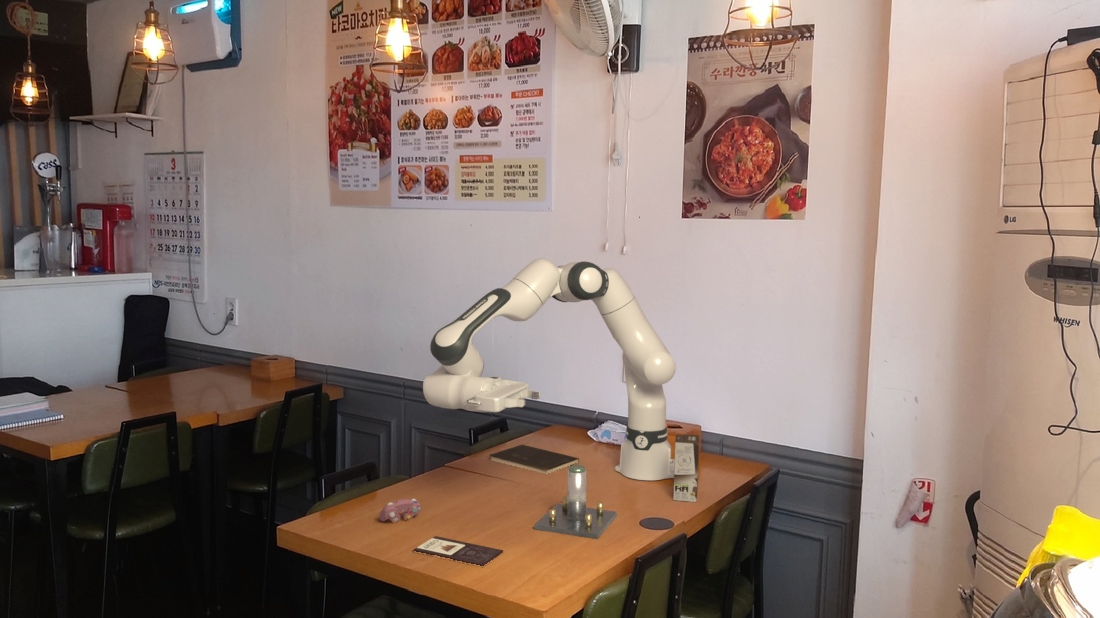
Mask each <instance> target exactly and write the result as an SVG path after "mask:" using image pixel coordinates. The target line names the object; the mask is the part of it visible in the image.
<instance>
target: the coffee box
mask: <svg viewBox="0 0 1100 618" xmlns="http://www.w3.org/2000/svg"><path fill="white" fill-rule="evenodd" d="M674 439H675V440H674V478H673V499H672V500H673V501H680V502H691V503H697V499H698V489H699V469H700V468H699V465H700V463H699V461H700V459H699V458H700V435H698V434H675V438H674Z"/></svg>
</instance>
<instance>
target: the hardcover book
mask: <svg viewBox="0 0 1100 618" xmlns="http://www.w3.org/2000/svg"><path fill="white" fill-rule="evenodd" d="M488 457H490V461H492V462H497V463H500V464H504V463H505V464H504V465H508V466H511V465H512V467H515V466H517V467H516V468H519V467H521V468H520V469H523V468H525V469H524V470H527V469H528V470H527V471H530V470H533V471H532V472H534V471H537V472H536V473H538V472H540V473H539V474H542V473H545V474H544V475H546V474H547V475H549V474H548V473H550V474H552V473H551V472H553V473H555V472H557V471H556V470H558V471H560V470H559V469H561V470H563V469H562V468H564V467H566V468H568V467H567V466H570V465H572V464H574V465H576V464H575V463H577V464H579V463H580V458H579V457H576V456H571V455H567V454H563V453H559V452H554V451H550V450H546V449H542V448H539V447H534V446H529V445H526V444H520V445H517V446H513V447H510V448H506V449H504V450H499V451H497V452H494V453H492V454H491V453H490V454H489V455H488ZM578 462H579V463H578ZM564 469H565V468H564ZM554 471H555V472H554Z"/></svg>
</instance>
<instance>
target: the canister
mask: <svg viewBox="0 0 1100 618" xmlns="http://www.w3.org/2000/svg"><path fill="white" fill-rule="evenodd" d="M567 497H568V498H567V518H568V519H569V520H571V521H583V520H585V514H586V507H587V469H586V466H584V465H581V464H574V465H572V466H569V467H568V468H567Z"/></svg>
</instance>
